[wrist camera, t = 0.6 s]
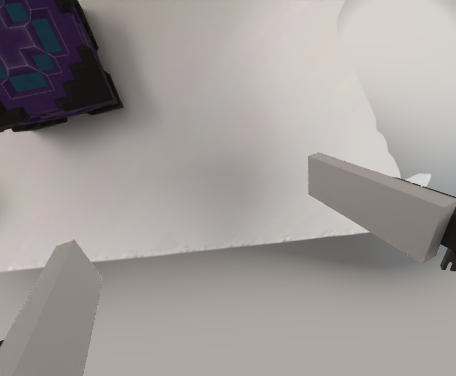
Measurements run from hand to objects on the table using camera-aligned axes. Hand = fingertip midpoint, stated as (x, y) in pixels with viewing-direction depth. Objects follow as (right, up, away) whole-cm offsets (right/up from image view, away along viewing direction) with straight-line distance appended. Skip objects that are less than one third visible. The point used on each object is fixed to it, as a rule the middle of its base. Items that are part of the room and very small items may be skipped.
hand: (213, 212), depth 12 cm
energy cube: (-22, +17, +15) cm, 31 cm away
